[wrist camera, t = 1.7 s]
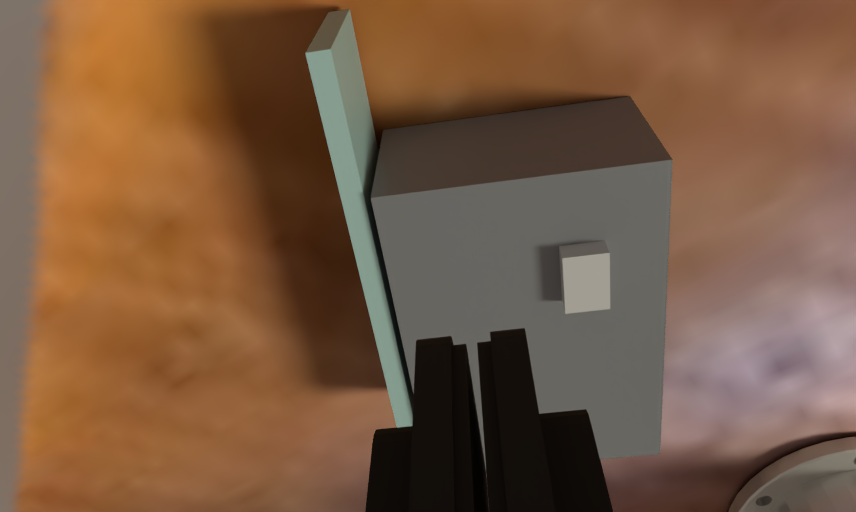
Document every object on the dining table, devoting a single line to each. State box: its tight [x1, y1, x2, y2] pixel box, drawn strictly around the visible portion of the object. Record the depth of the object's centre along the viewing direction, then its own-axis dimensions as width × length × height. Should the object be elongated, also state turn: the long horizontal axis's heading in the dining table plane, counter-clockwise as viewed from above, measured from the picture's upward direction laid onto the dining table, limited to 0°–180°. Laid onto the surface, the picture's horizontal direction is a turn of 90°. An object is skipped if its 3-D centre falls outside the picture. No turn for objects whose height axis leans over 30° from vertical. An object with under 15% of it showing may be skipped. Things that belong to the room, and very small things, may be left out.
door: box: [305, 9, 414, 428], centre depth 29 cm, size 19×1×5 cm, turn 9°
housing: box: [371, 96, 672, 469], centre depth 29 cm, size 15×10×7 cm, turn 9°
